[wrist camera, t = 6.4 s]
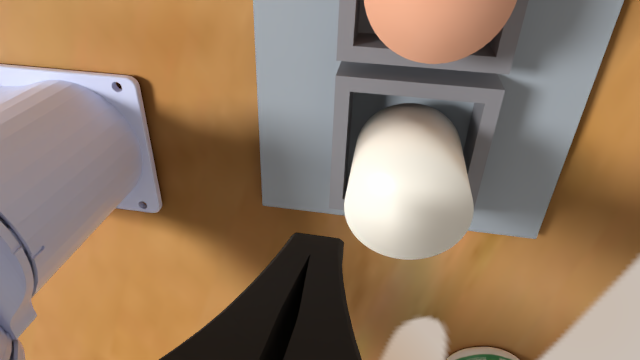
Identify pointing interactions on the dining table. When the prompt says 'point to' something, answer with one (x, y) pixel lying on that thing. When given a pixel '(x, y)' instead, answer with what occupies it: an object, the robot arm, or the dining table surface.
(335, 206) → the panel
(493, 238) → the dining table surface
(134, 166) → the robot arm
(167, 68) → the dining table surface
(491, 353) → the supplement bottle
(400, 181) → the button cream
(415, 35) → the button terracotta
